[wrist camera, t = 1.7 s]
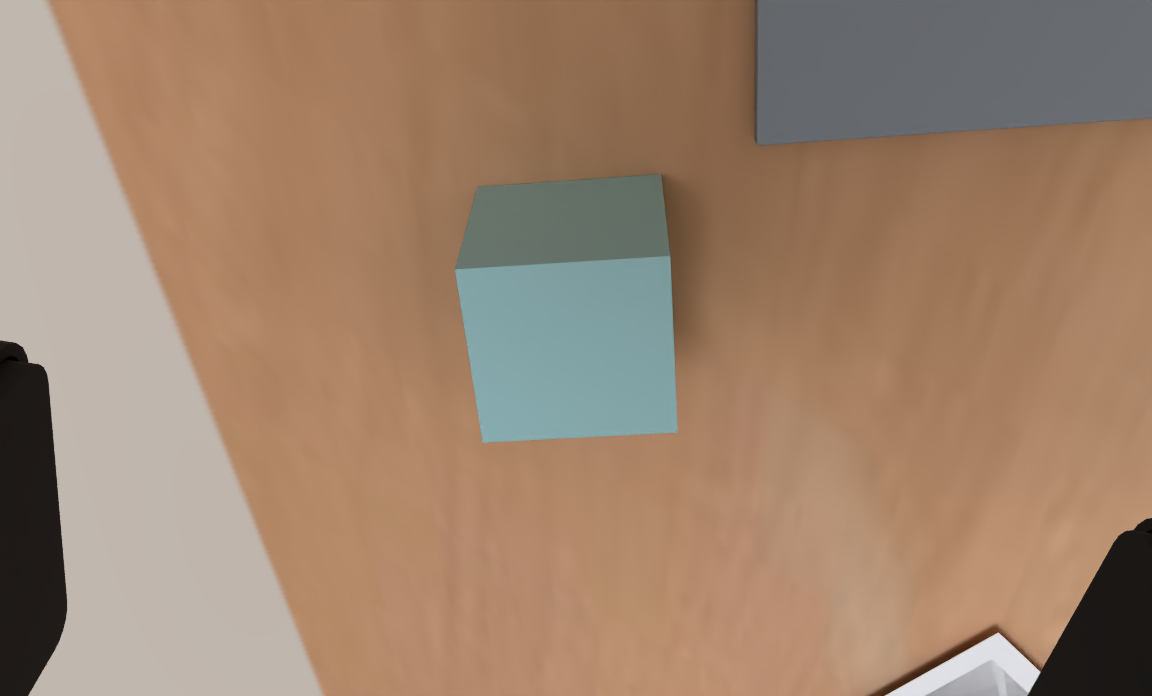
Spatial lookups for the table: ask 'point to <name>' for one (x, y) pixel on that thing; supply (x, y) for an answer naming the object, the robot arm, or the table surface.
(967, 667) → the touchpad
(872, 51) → the mat
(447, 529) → the table surface
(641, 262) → the cube
